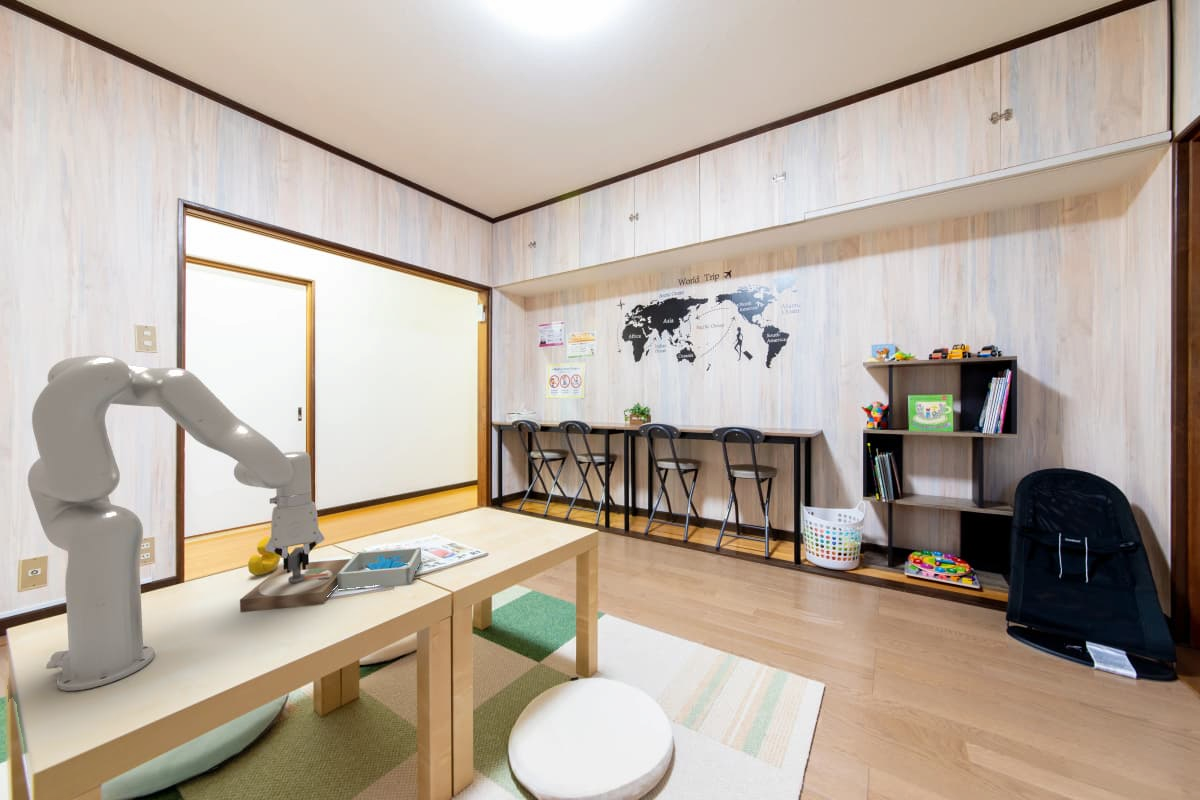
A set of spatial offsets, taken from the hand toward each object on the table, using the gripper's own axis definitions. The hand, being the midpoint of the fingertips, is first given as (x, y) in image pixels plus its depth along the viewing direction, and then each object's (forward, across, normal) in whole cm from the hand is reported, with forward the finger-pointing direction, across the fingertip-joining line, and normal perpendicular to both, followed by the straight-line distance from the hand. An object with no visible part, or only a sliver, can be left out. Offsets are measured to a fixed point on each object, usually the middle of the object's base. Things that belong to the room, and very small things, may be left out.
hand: (296, 569), depth 118 cm
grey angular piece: (+3, +3, -1) cm, 4 cm away
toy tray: (+6, +20, -1) cm, 21 cm away
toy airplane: (+7, +20, -1) cm, 21 cm away
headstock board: (+6, +1, +3) cm, 7 cm away
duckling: (+7, -7, +22) cm, 24 cm away
